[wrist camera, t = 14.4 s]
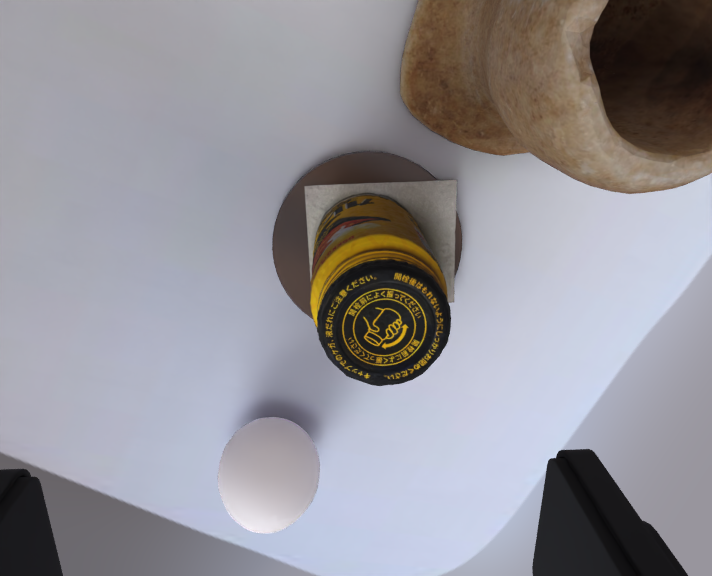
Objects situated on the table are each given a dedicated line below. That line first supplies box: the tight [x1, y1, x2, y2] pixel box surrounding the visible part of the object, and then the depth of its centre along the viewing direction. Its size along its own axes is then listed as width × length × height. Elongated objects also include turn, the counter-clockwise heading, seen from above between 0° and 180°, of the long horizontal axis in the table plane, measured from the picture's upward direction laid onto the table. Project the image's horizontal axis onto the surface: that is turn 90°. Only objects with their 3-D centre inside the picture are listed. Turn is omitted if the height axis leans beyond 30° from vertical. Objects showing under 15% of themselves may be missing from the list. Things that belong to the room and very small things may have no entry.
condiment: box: [304, 180, 457, 386], centre depth 28 cm, size 7×8×12 cm
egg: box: [218, 417, 320, 534], centre depth 35 cm, size 6×6×8 cm
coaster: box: [272, 151, 462, 319], centre depth 34 cm, size 11×11×1 cm
